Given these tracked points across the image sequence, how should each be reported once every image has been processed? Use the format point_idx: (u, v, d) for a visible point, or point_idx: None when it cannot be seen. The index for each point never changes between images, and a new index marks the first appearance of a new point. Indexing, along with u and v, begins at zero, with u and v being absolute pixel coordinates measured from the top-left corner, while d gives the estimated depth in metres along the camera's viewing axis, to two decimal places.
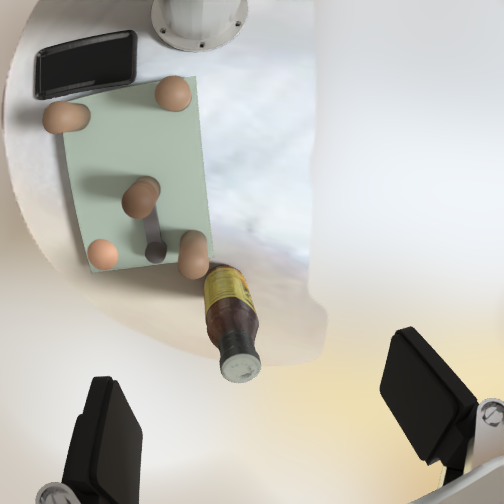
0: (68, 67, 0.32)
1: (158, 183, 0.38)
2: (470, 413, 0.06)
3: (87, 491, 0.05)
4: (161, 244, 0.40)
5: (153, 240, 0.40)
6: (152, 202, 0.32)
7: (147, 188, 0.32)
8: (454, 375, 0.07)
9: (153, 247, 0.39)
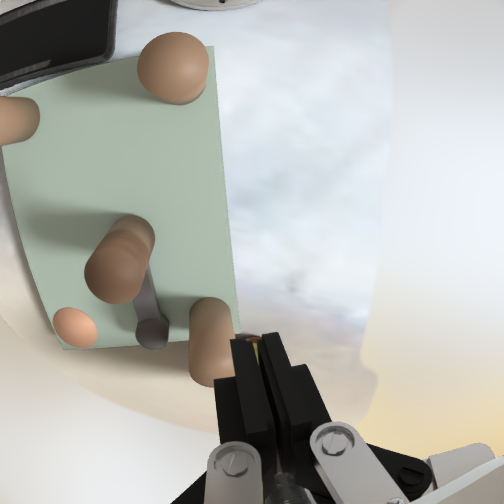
0: (14, 45, 0.17)
1: (150, 228, 0.23)
2: None
3: (260, 444, 0.07)
4: (160, 322, 0.25)
5: (147, 316, 0.25)
6: (139, 278, 0.17)
7: (128, 251, 0.17)
8: (297, 389, 0.08)
9: (148, 328, 0.24)
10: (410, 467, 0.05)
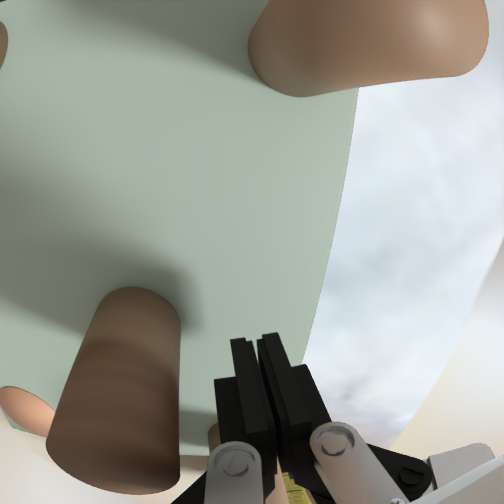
0: None
1: (177, 321, 0.12)
2: None
3: (260, 444, 0.07)
4: None
5: None
6: (174, 477, 0.06)
7: (154, 432, 0.06)
8: (297, 389, 0.08)
9: None
10: (410, 467, 0.05)
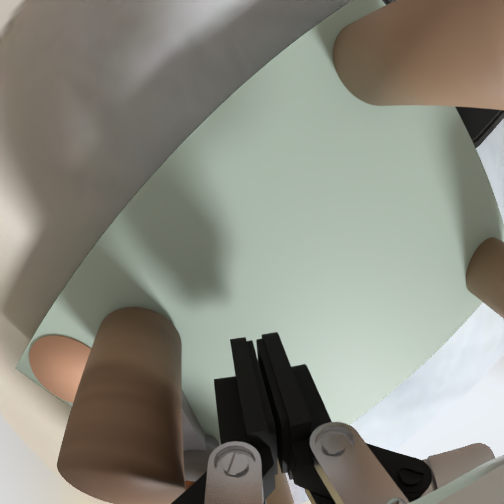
0: None
1: (171, 329, 0.12)
2: None
3: (260, 444, 0.07)
4: (208, 454, 0.14)
5: (186, 448, 0.14)
6: (178, 484, 0.06)
7: (141, 445, 0.06)
8: (296, 389, 0.08)
9: (191, 464, 0.13)
10: (410, 467, 0.05)
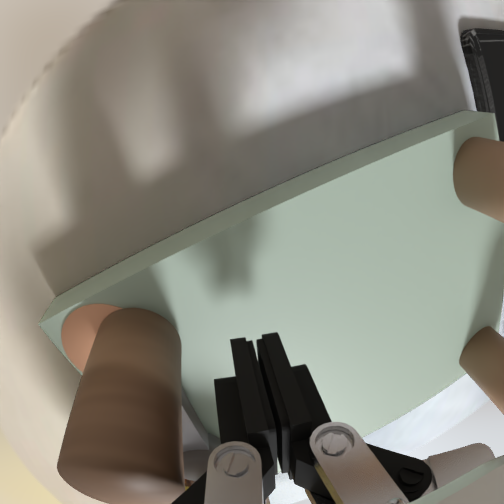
0: None
1: (170, 329, 0.12)
2: None
3: (260, 444, 0.07)
4: None
5: (189, 448, 0.14)
6: (178, 486, 0.06)
7: (140, 447, 0.06)
8: (297, 389, 0.08)
9: (194, 463, 0.14)
10: (410, 467, 0.05)
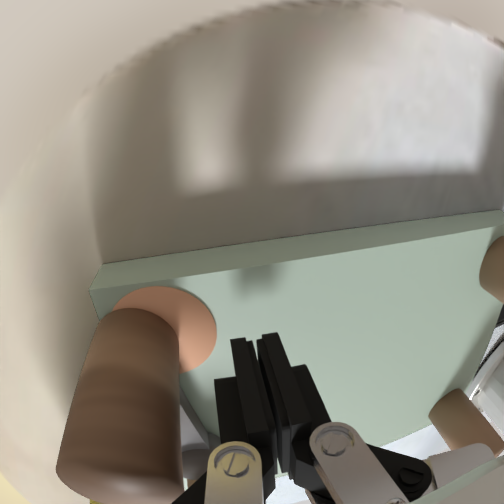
0: None
1: (167, 329, 0.12)
2: None
3: (260, 444, 0.07)
4: (211, 452, 0.14)
5: (189, 448, 0.14)
6: (176, 487, 0.06)
7: (137, 449, 0.06)
8: (296, 389, 0.08)
9: (194, 463, 0.13)
10: (410, 467, 0.05)
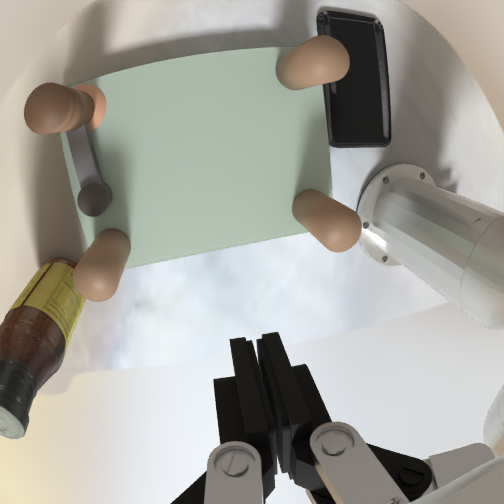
0: (355, 58, 0.27)
1: (89, 96, 0.22)
2: None
3: (260, 444, 0.07)
4: (100, 185, 0.24)
5: (88, 181, 0.24)
6: (66, 102, 0.16)
7: (60, 85, 0.16)
8: (297, 389, 0.08)
9: (89, 191, 0.23)
10: (410, 467, 0.05)
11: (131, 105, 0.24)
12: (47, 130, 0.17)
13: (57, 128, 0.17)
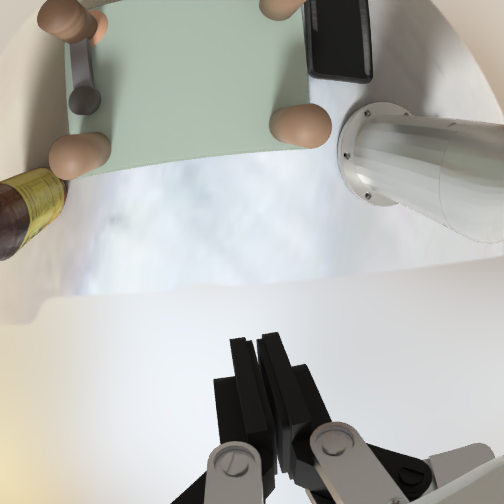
0: (337, 4, 0.26)
1: (94, 18, 0.21)
2: None
3: (260, 444, 0.07)
4: (91, 87, 0.23)
5: (81, 84, 0.23)
6: (73, 6, 0.16)
7: None
8: (297, 389, 0.08)
9: (80, 91, 0.23)
10: (410, 467, 0.05)
11: (129, 26, 0.23)
12: (53, 27, 0.16)
13: (62, 26, 0.17)
